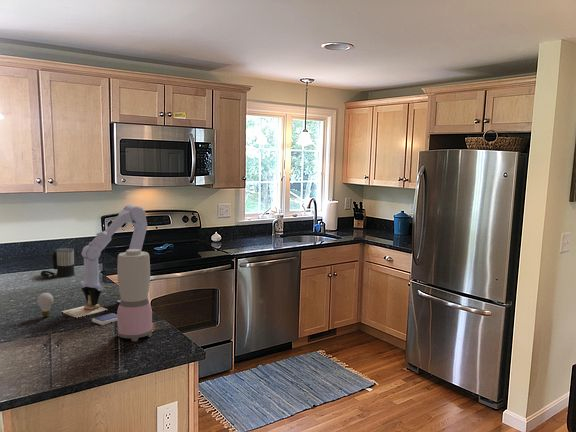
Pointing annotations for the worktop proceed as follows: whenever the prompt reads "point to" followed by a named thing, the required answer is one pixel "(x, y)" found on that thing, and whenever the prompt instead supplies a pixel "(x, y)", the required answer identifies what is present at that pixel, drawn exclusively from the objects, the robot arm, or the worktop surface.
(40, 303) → the light bulb
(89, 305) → the stamp
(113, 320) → the ink pad
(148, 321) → the blender
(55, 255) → the milk frother
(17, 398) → the worktop surface
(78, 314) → the card sheet
